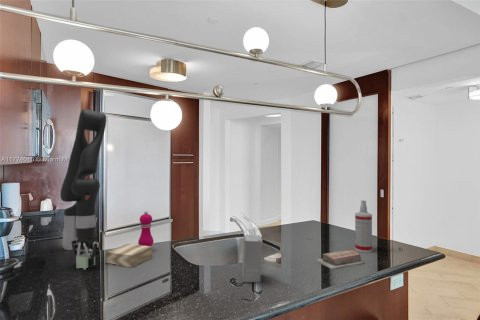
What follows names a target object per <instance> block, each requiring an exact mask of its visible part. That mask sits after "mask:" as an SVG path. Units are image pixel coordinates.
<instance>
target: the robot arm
mask: <svg viewBox="0 0 480 320" xmlns="http://www.w3.org/2000/svg"><path fill="white" fill-rule="evenodd" d="M106 126H107V115H106V114H105V113H104V112H100V111H96V110H91V109H88V108H87V109H86V108H83V109H81V111H80V113H79V116H78V121H77V127H76V134H75V139H74V141H73V142H74V143H73V146H72V150H71V153H70V157H69V162H68V166H67V170H66V174H65V178H64V179H63V182H62V185H61V189H60V198H61V199H60V200H61V201H62V202H65V203H66V202H67V203H68V202H75V203H74V204H73V205H71V206H70V207H67V208H65V209H64V211H63V212H64V213H63V216H64V217H63V218H64V219H63V220H64V222H63V223H64V224H63V226H64V227H63V229H62V249H64V251H72V252H73V255H74V256H78V255H81V254H84V253H87V254H88V267H90V268H93V267H94V266H93V265H94V257H95V258H96V257H99V254H100V249H101V248H100V247H101V242H100V241H99V242H97V241H96V240H95V236H96V235H97V234H96V230H97V229H96V225H97V224H96V222H97V221H96V202H97V197H98V195H99V191H100V188H101V185H100V182H99V180H98V179H97V178H87V177H88V176H91V175H94V174H96V173H97V171H98V163H99V156H100V150H101V146H102V143H103V139H104V135H105V131H106ZM86 131H89V132H91V131H92V132H96V134H95V136H94V138H93V139H92V140H91V142H90V143H89V142H88V139H87V137H86V134H85V132H86ZM87 196H88V198H87ZM86 198H87V199H86ZM91 254H92V255H91ZM92 266H93V267H92Z"/></svg>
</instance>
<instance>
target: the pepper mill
mask: <svg viewBox="0 0 480 320" xmlns="http://www.w3.org/2000/svg"><path fill="white" fill-rule="evenodd" d="M152 221H153V216H152V215H151V214H149V212H148V211H147V210H145V211H143V214H141V215H140V217H139V223H140V228H141V232H140V236H139V238H138V241H137V245H143V246H152V247H153V245H154V238H153V236H152V233H151V227H152Z"/></svg>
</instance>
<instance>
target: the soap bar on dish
mask: <svg viewBox="0 0 480 320" xmlns="http://www.w3.org/2000/svg"><path fill="white" fill-rule="evenodd" d="M317 263H319V264H321V265H323V266H325V267H326V268H329V269H331V270H336V269H340V268H346V267H353V266H358V265H363V264H365V261H363V260H362V257H361V254H360V253H359V251H355V250H352V249H350V250H349V249H348V250H339V251H333V252H327V253H323V254H322V258H317Z"/></svg>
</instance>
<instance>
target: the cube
mask: <svg viewBox="0 0 480 320" xmlns="http://www.w3.org/2000/svg"><path fill="white" fill-rule="evenodd" d="M91 255H92V254H91ZM75 257H76V258H75V260H76V261H75V263H76V265H75V268H76V269H79V268H83V269H82V270H87V269H86V268H88V254H87V253H86V252H84V254H81V255H78V256H77V255H75ZM94 265H95V266H96V257H94ZM88 269H89V268H88Z"/></svg>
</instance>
